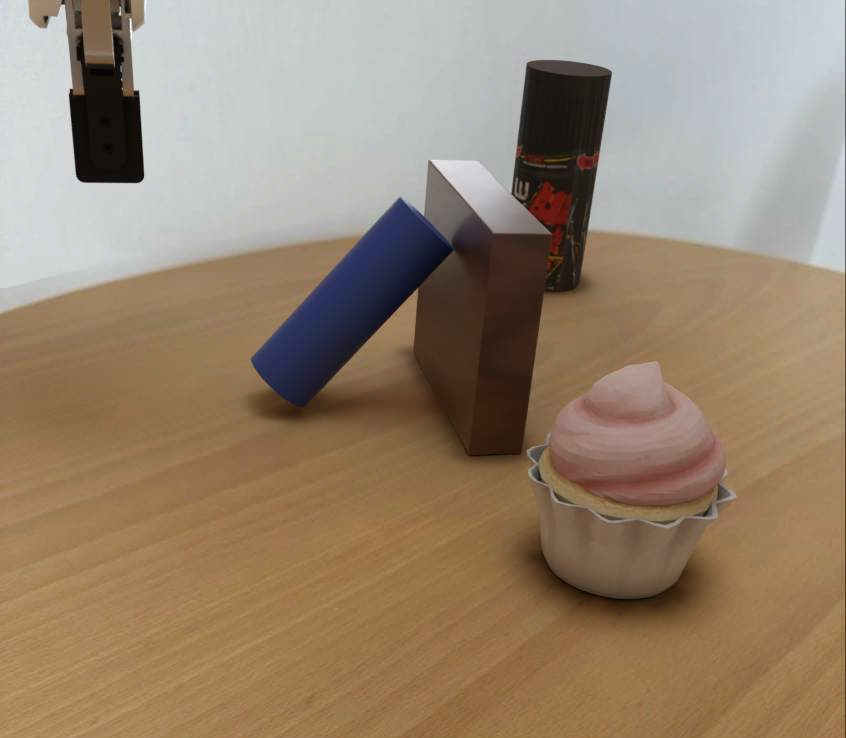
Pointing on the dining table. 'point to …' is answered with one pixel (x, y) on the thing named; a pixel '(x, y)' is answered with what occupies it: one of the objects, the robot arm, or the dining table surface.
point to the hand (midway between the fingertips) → (110, 177)
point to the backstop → (481, 306)
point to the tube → (351, 303)
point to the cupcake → (627, 485)
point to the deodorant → (561, 157)
